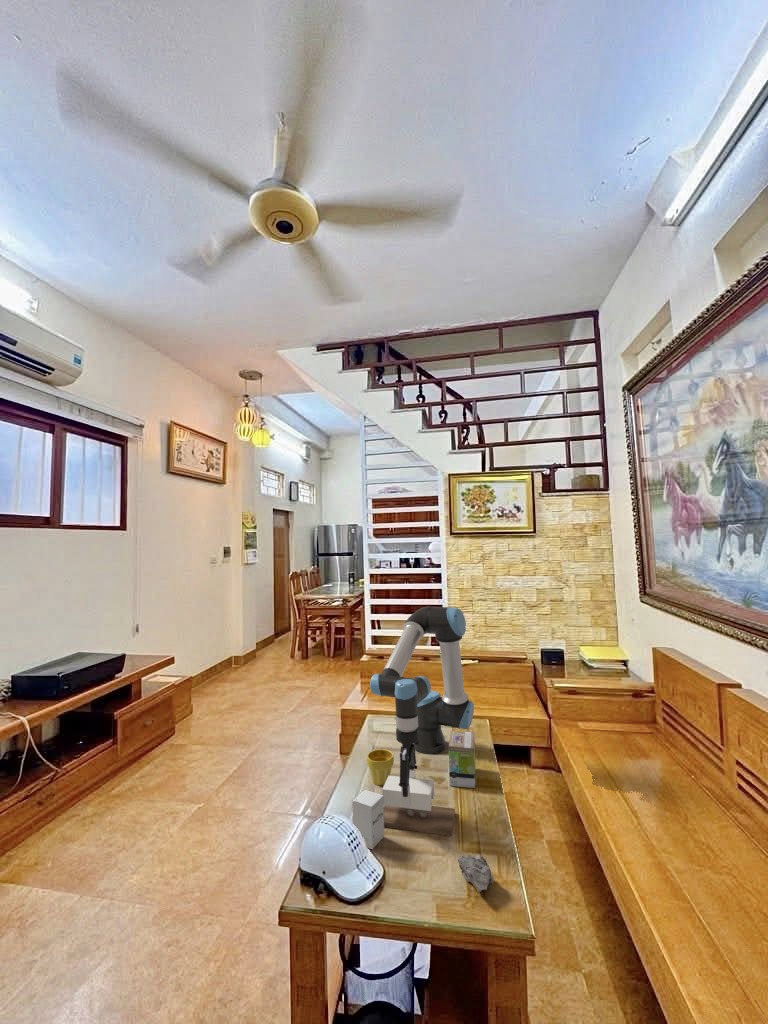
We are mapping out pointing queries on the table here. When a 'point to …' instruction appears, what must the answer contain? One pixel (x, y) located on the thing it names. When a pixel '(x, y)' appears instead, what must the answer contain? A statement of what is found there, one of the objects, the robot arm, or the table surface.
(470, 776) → the tea box
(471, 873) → the mineral specimen
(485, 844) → the table surface
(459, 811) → the table surface
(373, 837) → the supplement box
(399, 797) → the panel
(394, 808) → the board
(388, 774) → the plant pot
